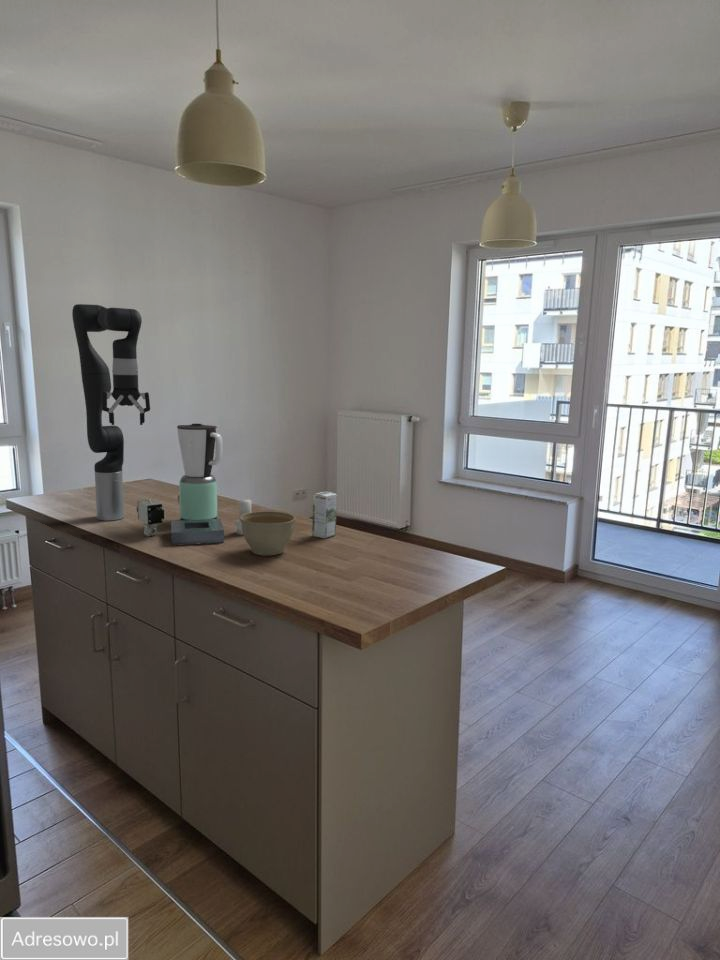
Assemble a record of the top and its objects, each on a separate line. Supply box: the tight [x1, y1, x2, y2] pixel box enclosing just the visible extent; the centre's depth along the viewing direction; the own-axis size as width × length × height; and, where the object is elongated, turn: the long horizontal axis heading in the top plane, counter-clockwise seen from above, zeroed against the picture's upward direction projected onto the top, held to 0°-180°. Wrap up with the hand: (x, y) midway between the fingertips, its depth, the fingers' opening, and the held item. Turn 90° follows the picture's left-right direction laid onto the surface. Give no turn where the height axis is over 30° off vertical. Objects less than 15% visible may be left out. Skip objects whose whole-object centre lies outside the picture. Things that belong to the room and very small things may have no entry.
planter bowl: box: [241, 510, 296, 557], centre depth 194 cm, size 16×16×11 cm
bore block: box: [170, 518, 225, 546], centre depth 208 cm, size 16×16×4 cm
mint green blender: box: [176, 423, 224, 520], centre depth 226 cm, size 19×13×35 cm
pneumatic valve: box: [136, 498, 165, 538], centre depth 209 cm, size 6×12×12 cm, turn 40°
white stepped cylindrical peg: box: [235, 499, 252, 536], centre depth 215 cm, size 6×6×11 cm
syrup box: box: [311, 491, 338, 539], centre depth 213 cm, size 6×6×14 cm
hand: (127, 424), depth 205 cm, fingers open, 8 cm apart
